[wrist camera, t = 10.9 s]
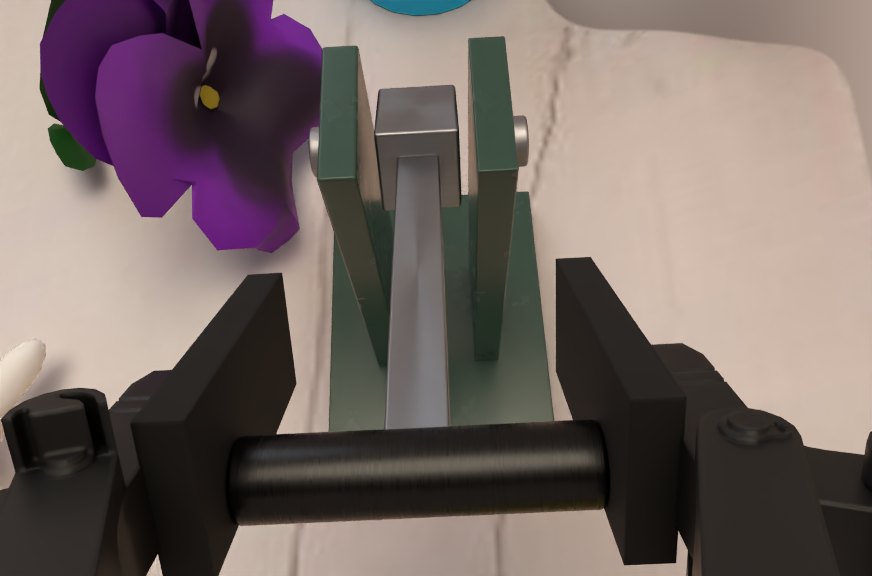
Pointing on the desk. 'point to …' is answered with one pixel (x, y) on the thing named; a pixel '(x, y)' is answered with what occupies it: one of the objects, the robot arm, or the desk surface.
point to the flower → (186, 106)
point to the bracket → (462, 247)
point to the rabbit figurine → (19, 373)
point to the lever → (418, 383)
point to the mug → (420, 6)
